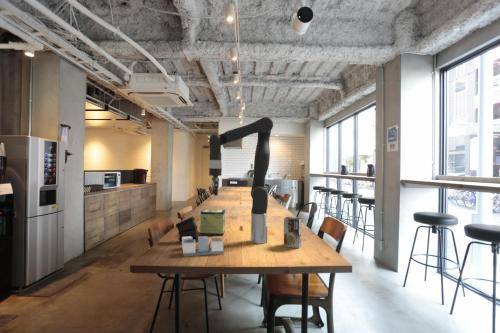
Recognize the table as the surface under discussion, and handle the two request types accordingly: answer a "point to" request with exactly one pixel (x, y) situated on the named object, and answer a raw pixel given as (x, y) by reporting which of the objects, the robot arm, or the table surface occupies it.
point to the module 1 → (186, 239)
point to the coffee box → (292, 232)
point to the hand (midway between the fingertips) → (215, 194)
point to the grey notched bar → (214, 249)
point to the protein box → (212, 222)
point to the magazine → (187, 229)
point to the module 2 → (202, 243)
